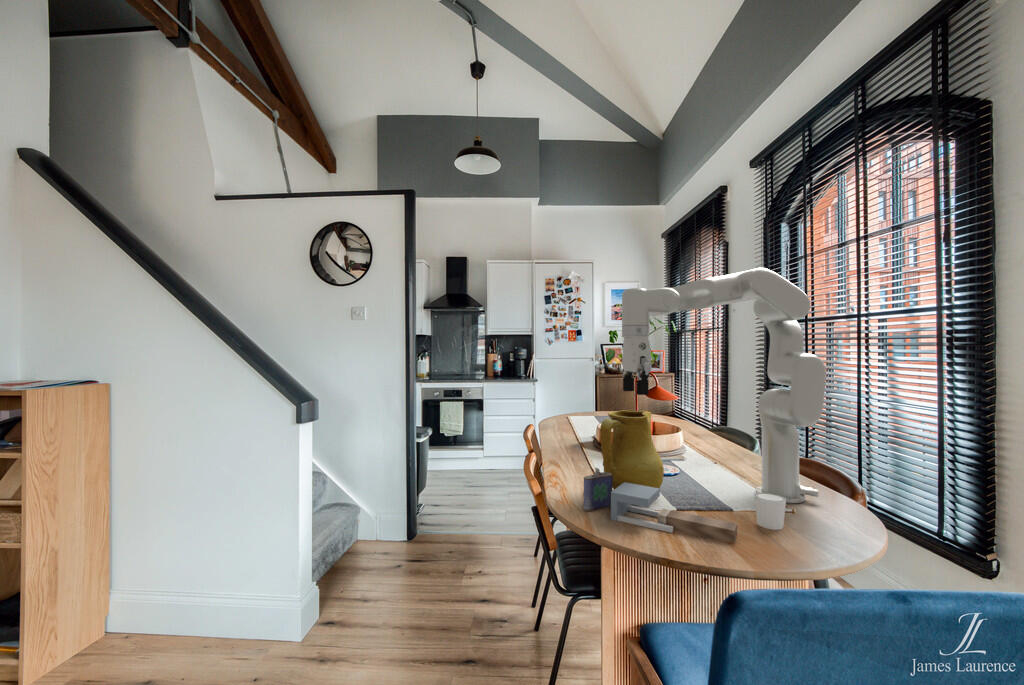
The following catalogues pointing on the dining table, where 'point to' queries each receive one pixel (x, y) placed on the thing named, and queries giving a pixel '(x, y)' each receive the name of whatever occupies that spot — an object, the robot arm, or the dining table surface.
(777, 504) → the white short cylinder
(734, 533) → the walnut slat
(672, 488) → the dining table surface
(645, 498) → the grey block with rails
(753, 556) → the dining table surface
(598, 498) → the flask
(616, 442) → the pitcher
